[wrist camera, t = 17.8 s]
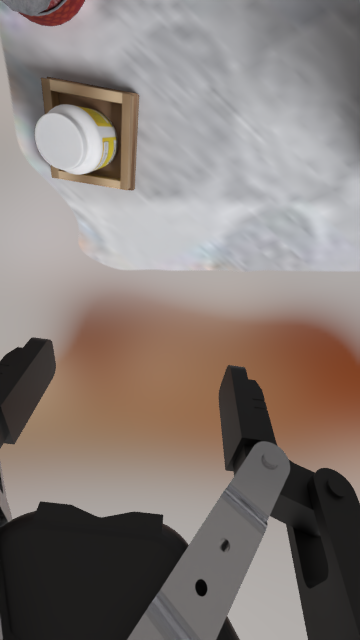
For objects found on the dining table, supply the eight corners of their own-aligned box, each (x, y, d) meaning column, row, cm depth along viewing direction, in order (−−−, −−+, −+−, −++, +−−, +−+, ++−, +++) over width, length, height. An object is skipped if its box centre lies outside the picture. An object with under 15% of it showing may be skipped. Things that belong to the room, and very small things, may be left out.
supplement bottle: (61, 117, 29) (11, 110, 21) (108, 102, 28) (74, 90, 20) (82, 172, 32) (45, 185, 24) (125, 161, 31) (102, 170, 23)
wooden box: (139, 95, 29) (133, 91, 26) (134, 188, 34) (129, 193, 31) (51, 78, 28) (37, 72, 26) (60, 176, 33) (49, 179, 31)
